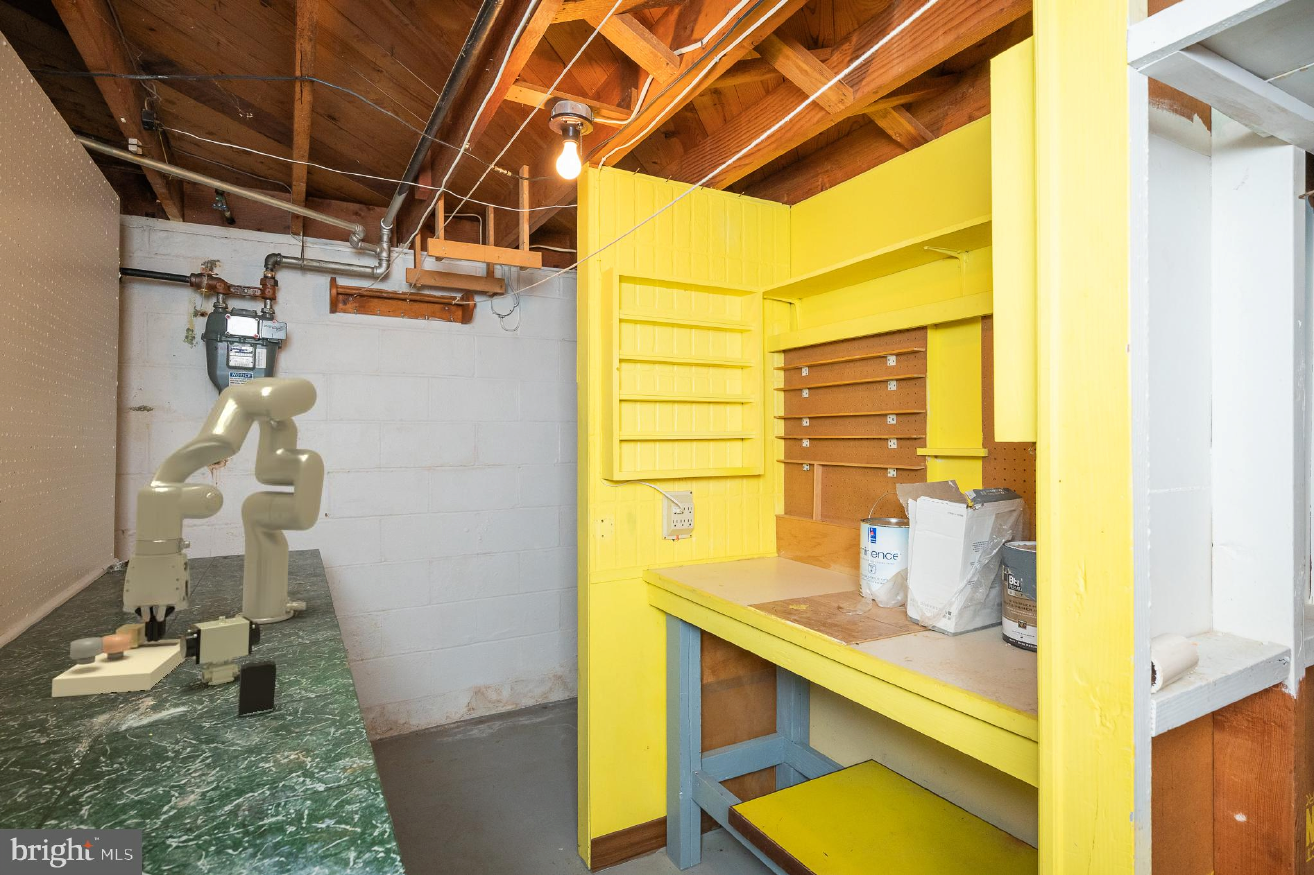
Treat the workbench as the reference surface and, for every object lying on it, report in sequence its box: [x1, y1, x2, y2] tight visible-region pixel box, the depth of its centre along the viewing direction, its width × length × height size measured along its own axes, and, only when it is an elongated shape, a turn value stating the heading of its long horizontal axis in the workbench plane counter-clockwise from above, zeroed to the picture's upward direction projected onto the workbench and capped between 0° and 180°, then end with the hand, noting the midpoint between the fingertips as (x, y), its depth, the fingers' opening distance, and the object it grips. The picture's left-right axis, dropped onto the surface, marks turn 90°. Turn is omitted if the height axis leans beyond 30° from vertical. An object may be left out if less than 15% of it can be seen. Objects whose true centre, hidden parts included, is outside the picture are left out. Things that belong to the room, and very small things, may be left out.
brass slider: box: [115, 622, 147, 647], centre depth 131 cm, size 4×4×4 cm
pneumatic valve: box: [179, 615, 262, 686], centre depth 122 cm, size 6×12×12 cm, turn 138°
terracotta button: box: [101, 633, 131, 659], centre depth 124 cm, size 4×4×4 cm
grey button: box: [69, 636, 103, 665], centre depth 118 cm, size 4×4×4 cm
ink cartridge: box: [237, 659, 277, 716], centre depth 109 cm, size 5×2×8 cm, turn 125°
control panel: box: [51, 638, 188, 698], centre depth 125 cm, size 14×22×3 cm, turn 18°
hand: (154, 639), depth 133 cm, fingers closed
